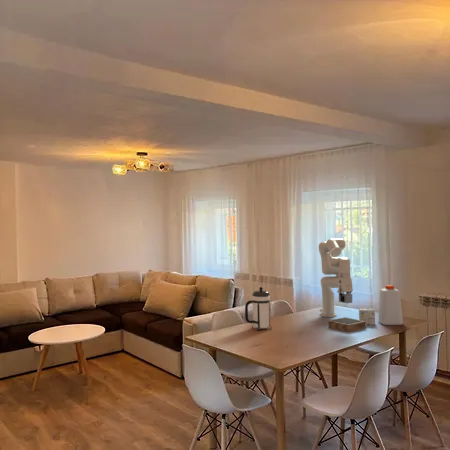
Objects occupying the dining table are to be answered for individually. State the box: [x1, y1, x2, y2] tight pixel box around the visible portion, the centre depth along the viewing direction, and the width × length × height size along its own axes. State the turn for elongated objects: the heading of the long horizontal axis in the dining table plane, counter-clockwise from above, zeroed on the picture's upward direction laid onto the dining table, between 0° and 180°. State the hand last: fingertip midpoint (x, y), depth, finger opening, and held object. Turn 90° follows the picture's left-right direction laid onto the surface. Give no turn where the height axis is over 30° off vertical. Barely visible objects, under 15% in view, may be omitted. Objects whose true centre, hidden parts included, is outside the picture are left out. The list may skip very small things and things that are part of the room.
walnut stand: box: [328, 316, 366, 333], centre depth 317 cm, size 18×18×5 cm
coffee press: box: [244, 287, 273, 332], centre depth 318 cm, size 17×16×30 cm
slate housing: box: [338, 292, 353, 304], centre depth 317 cm, size 5×9×6 cm, turn 33°
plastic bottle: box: [378, 284, 404, 326], centre depth 328 cm, size 15×15×28 cm
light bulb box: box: [358, 308, 376, 326], centre depth 329 cm, size 11×7×11 cm, turn 84°
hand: (345, 300), depth 317 cm, fingers closed on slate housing, 5 cm apart
